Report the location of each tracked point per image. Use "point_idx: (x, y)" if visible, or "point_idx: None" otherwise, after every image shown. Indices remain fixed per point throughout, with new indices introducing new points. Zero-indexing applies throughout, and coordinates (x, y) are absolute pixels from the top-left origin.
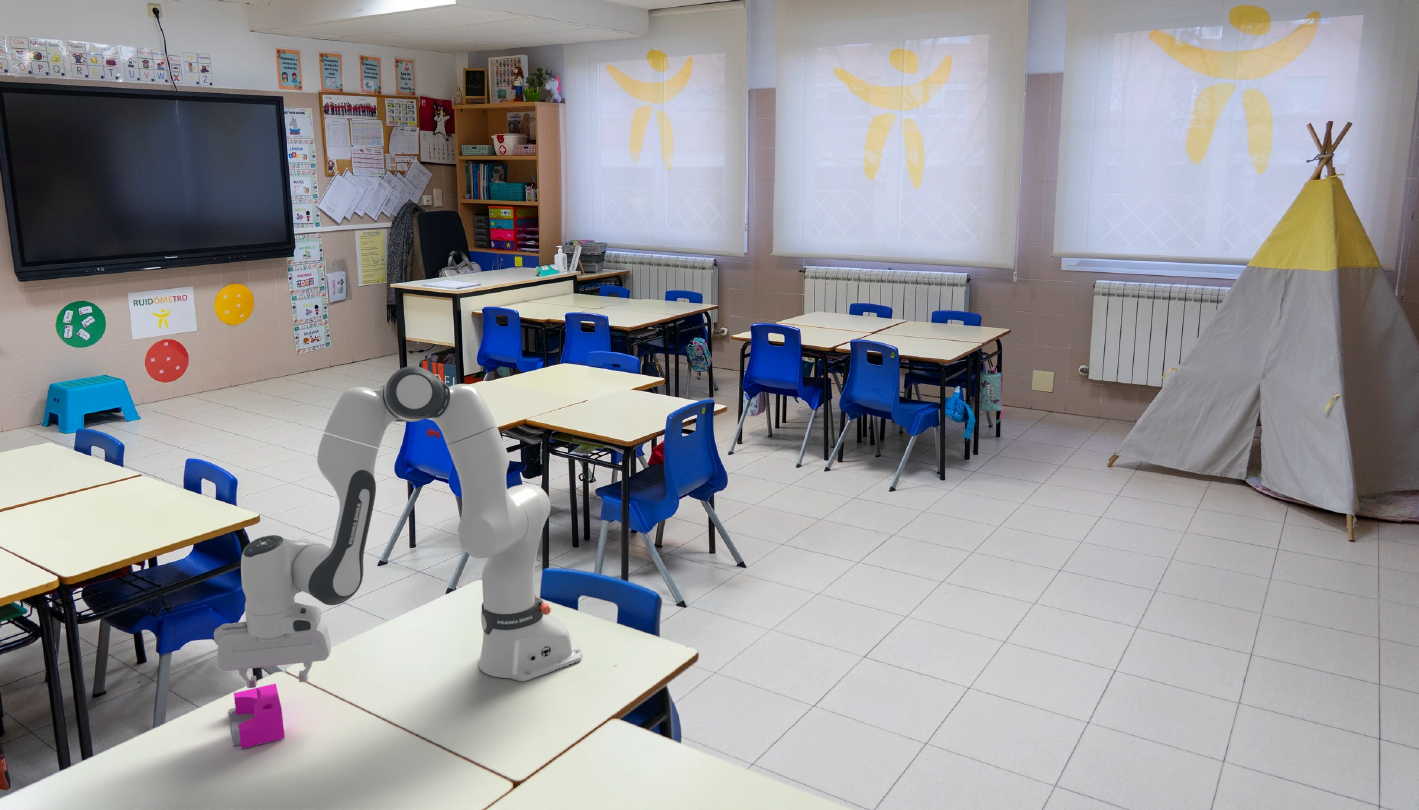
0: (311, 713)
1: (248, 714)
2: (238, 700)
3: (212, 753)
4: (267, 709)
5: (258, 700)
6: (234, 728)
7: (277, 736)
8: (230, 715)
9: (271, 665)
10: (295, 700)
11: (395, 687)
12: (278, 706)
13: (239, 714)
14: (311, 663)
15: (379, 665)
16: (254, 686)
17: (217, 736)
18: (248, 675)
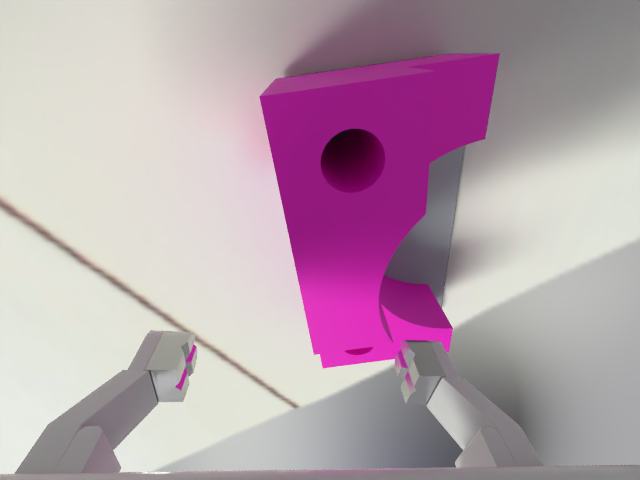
0: (203, 233)
1: (396, 276)
2: (436, 318)
3: (547, 75)
4: (354, 123)
5: (396, 245)
6: (445, 215)
7: (303, 75)
8: (443, 284)
9: (331, 477)
10: (266, 310)
11: None
12: (284, 137)
13: (419, 283)
14: (40, 450)
15: (68, 396)
16: (410, 343)
17: (498, 191)
18: (450, 409)
